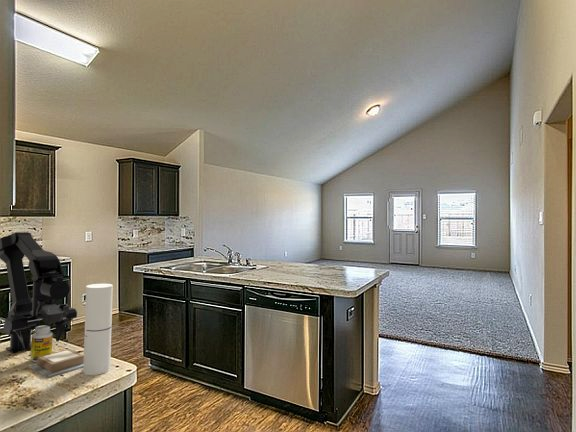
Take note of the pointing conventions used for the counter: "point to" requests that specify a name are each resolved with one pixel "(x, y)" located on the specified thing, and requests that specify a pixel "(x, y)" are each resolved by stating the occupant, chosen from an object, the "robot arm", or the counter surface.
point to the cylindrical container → (98, 329)
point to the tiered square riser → (58, 363)
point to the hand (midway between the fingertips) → (41, 344)
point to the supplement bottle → (41, 342)
